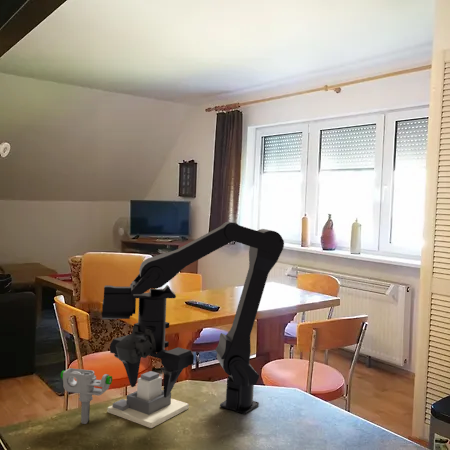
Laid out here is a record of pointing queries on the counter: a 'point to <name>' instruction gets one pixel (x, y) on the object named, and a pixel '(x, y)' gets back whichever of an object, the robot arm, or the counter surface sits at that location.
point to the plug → (149, 386)
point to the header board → (147, 409)
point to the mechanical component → (84, 387)
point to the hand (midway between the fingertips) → (149, 391)
